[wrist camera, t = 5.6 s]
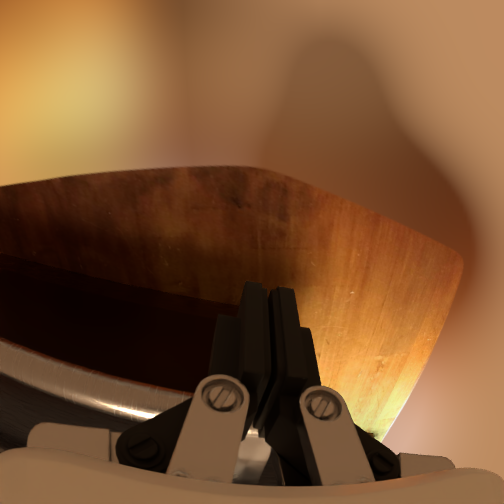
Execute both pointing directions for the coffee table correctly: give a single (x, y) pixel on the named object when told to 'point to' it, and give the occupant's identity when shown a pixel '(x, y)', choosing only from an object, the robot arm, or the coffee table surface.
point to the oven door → (103, 356)
